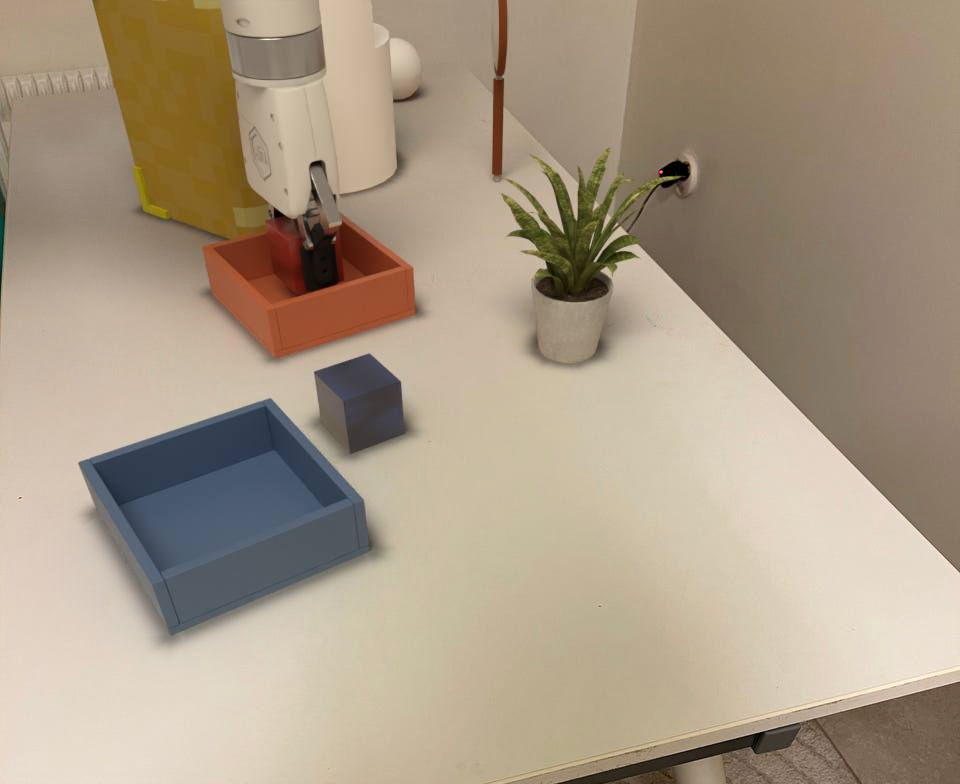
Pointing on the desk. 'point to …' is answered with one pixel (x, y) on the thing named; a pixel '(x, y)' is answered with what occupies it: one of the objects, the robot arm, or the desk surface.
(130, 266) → the desk surface
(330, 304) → the red bin
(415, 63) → the white egg
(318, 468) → the blue bin
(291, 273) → the red block
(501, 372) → the desk surface
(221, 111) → the book
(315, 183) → the robot arm
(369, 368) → the blue block
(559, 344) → the house plant
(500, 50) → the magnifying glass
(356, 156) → the cylinder
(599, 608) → the desk surface
